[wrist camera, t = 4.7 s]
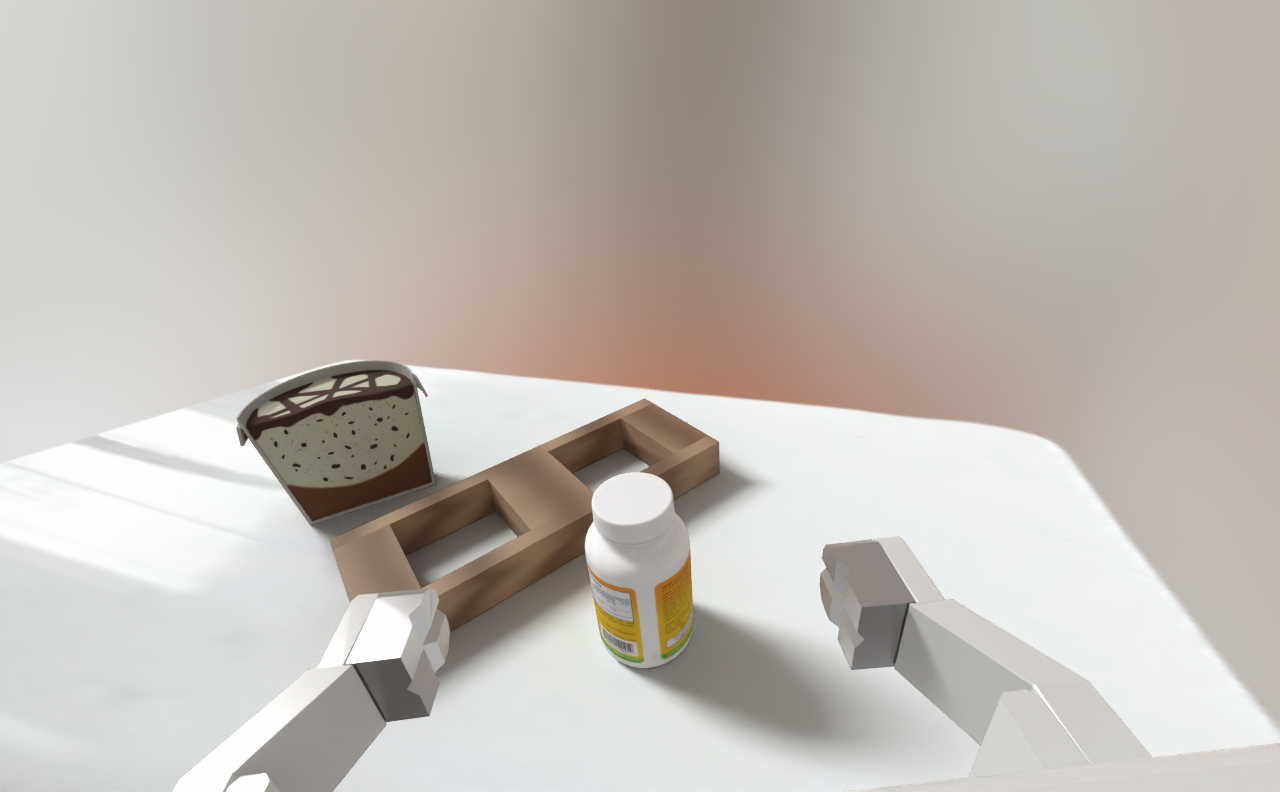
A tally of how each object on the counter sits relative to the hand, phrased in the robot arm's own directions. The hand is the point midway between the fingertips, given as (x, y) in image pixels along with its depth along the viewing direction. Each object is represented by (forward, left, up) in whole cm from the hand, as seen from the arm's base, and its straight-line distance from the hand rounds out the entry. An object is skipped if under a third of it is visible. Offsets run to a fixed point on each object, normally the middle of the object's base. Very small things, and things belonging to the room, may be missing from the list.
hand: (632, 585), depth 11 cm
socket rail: (+7, +22, -17) cm, 29 cm away
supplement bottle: (+7, +10, -18) cm, 22 cm away
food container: (-2, +36, -18) cm, 40 cm away
